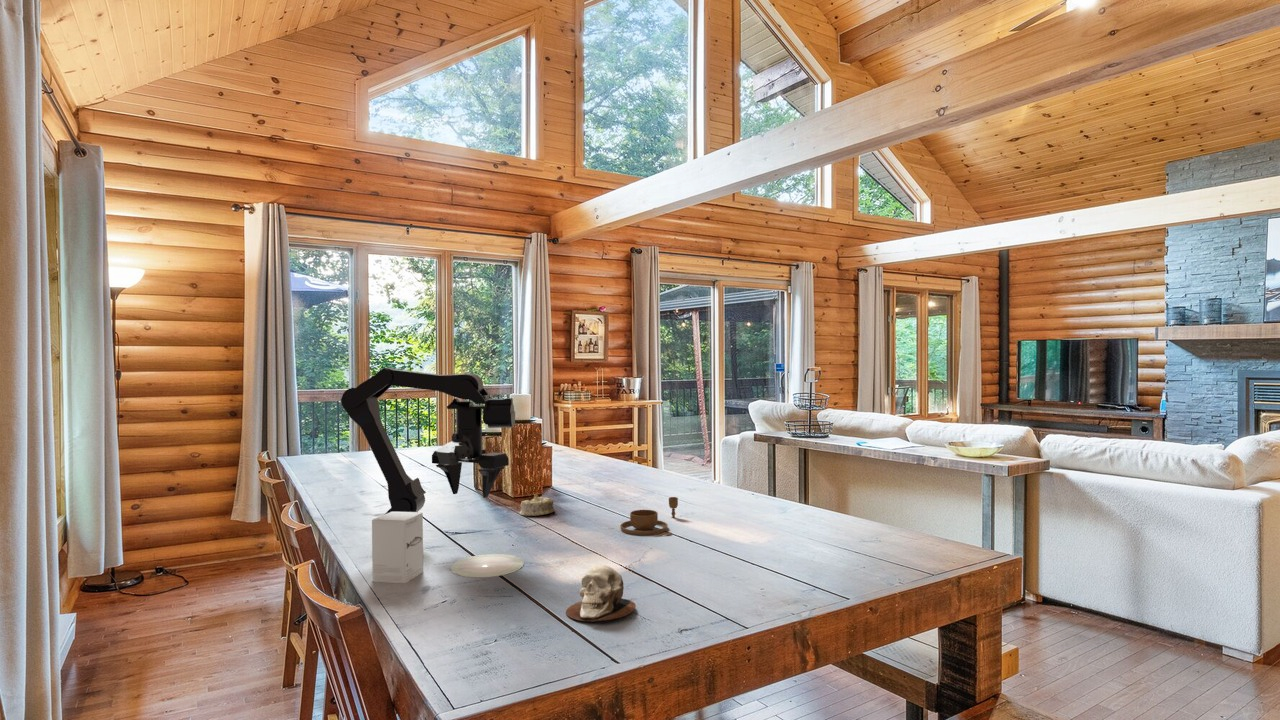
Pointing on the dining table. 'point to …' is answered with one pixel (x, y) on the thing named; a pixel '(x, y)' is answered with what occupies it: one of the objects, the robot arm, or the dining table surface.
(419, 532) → the supplement box
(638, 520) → the place setting
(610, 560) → the dining table surface
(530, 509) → the cake
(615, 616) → the skull
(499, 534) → the dining table surface
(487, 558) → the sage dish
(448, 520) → the dining table surface
